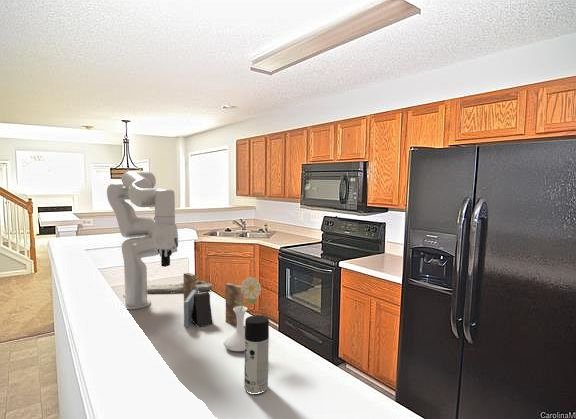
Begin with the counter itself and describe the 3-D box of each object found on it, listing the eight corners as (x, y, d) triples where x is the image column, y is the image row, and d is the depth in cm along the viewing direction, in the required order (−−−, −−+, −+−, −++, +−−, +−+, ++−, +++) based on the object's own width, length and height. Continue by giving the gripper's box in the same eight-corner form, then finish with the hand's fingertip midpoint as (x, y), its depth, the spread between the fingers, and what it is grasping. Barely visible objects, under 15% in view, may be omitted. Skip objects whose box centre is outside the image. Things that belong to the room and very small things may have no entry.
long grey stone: (147, 291, 186) (142, 298, 176) (146, 282, 185) (141, 289, 175) (213, 285, 191) (212, 292, 182) (212, 276, 191) (211, 282, 181)
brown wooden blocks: (183, 307, 158) (183, 273, 157) (187, 306, 160) (187, 272, 159) (239, 326, 138) (239, 287, 137) (243, 324, 140) (243, 286, 139)
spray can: (244, 381, 100) (245, 314, 98) (268, 381, 100) (268, 314, 99) (243, 395, 93) (243, 324, 92) (268, 394, 94) (269, 323, 92)
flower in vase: (225, 356, 114) (225, 283, 112) (222, 341, 125) (222, 274, 123) (263, 352, 118) (264, 280, 116) (257, 337, 129) (258, 271, 127)
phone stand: (212, 324, 140) (212, 295, 139) (198, 327, 137) (197, 298, 136) (205, 316, 148) (205, 289, 147) (191, 319, 145) (191, 291, 144)
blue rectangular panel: (194, 308, 156) (194, 287, 155) (198, 308, 156) (198, 287, 155) (183, 326, 136) (183, 302, 135) (188, 326, 136) (188, 302, 135)
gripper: (143, 220, 136) (144, 266, 137) (173, 222, 130) (174, 269, 132) (157, 218, 143) (157, 262, 144) (186, 220, 137) (187, 265, 139)
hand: (165, 265), depth 138 cm, fingers closed
